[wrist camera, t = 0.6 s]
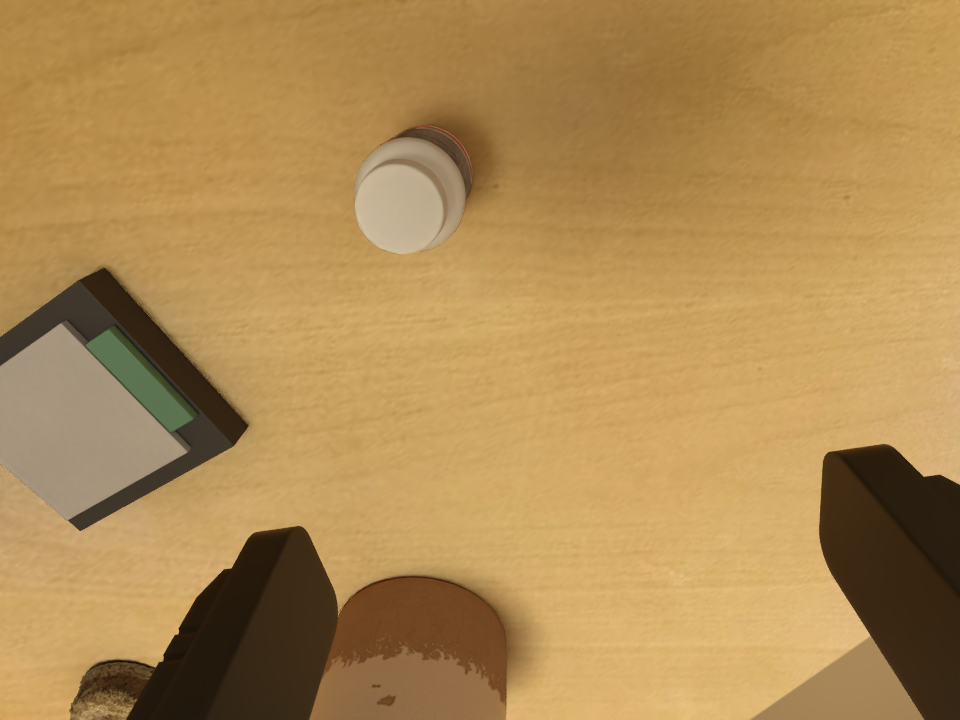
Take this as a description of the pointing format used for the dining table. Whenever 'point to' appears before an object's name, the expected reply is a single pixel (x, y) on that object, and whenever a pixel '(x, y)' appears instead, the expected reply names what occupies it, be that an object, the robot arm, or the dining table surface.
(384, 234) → the pill bottle
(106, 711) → the cake
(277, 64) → the dining table surface
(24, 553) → the dining table surface
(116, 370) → the scale
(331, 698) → the vase
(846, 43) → the dining table surface
